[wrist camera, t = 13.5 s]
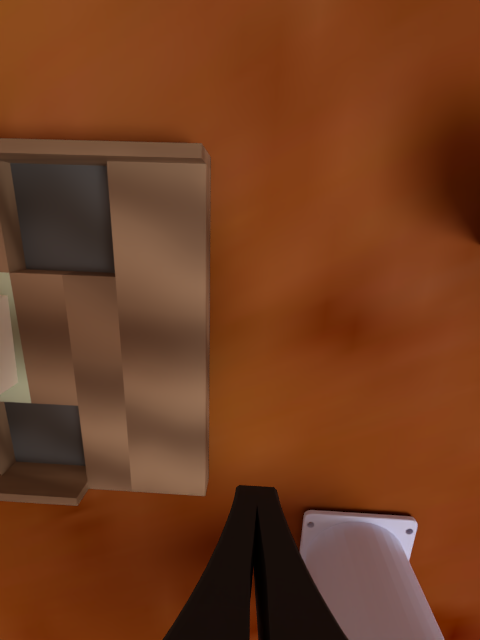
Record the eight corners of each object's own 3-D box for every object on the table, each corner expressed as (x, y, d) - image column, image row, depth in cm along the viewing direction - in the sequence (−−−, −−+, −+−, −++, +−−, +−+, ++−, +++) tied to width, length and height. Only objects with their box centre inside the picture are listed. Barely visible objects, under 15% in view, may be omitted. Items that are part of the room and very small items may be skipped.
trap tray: (208, 478, 23) (201, 514, 20) (-34, 463, 24) (-74, 495, 21) (210, 157, 17) (201, 143, 14) (-112, 148, 18) (-183, 133, 15)
